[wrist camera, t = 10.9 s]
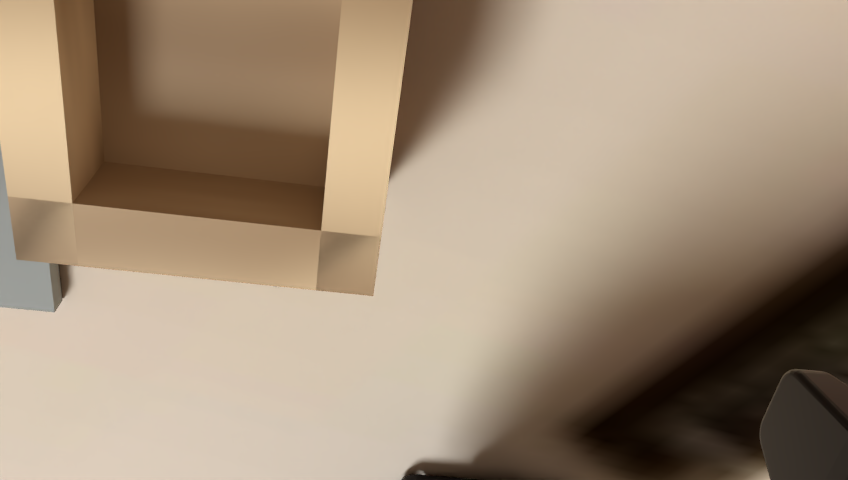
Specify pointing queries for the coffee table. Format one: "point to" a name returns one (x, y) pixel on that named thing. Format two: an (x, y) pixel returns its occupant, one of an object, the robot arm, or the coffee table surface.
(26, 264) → the mat
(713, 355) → the coffee table surface
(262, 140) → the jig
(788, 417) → the robot arm
